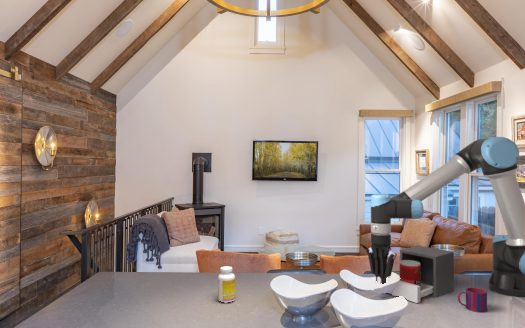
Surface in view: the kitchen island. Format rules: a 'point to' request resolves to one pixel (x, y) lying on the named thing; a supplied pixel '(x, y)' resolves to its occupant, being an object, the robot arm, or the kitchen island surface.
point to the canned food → (410, 272)
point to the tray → (412, 291)
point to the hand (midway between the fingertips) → (381, 293)
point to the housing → (433, 267)
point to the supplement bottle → (226, 285)
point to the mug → (475, 299)
